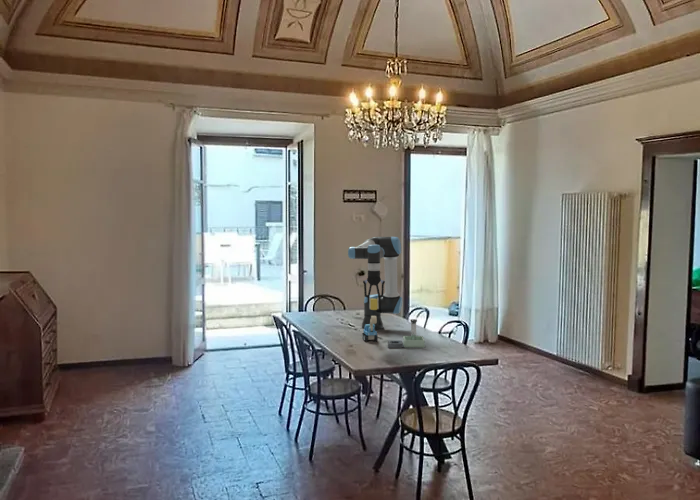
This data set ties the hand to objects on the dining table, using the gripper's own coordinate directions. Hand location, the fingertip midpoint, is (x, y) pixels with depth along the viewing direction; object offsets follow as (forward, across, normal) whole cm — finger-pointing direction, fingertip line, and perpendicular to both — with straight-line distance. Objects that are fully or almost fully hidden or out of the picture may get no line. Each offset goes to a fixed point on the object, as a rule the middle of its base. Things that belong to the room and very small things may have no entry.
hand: (373, 308), depth 361 cm
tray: (+23, +24, +2) cm, 33 cm away
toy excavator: (+23, -2, +14) cm, 27 cm away
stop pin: (+22, +24, +2) cm, 33 cm away
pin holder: (+23, +13, 0) cm, 26 cm away
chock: (0, 0, 0) cm, 0 cm away
